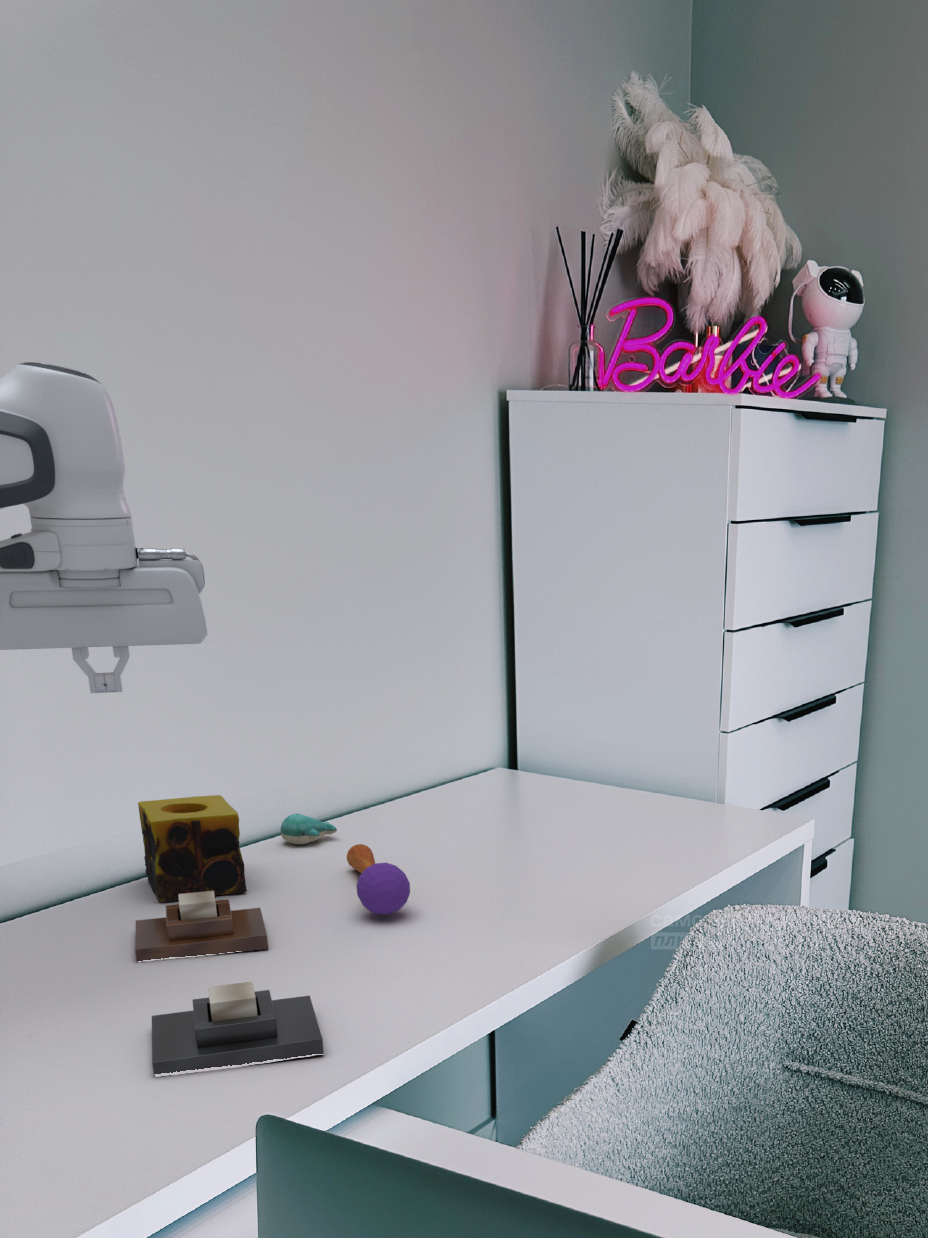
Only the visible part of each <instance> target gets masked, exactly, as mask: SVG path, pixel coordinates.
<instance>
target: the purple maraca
mask: <svg viewBox="0 0 928 1238" xmlns="http://www.w3.org/2000/svg"><path fill="white" fill-rule="evenodd" d="M346 861H347V863H348V866H350V867H351V868H353V869H354V870H356V871H357V872H359V873H360V875H359V877H358V879H357V883H356V895H357V898H358V899H359V901H360V903H361V905H362V906H363V907H364V908H365V909H367V911H369V912H370V913H373V914H376V915H380V916H382V915H392V914H394V913H396V912H398V911H400V910H401V909H402V908H403V907H404V906H405V905H406V904H407V902H408V899H409V897H410V894H411V883H410V881H409V878H408V876H407V874H406V873H405V872H404V871H403V870H402V869H401V868H400V867H399V866H397V865H395V864H392V863H389V862H377V863H376V861H375V855H374V853H373V851H372V849H371V848H370V847H369V846H368V845H366V844H363V843H359V844H354V845H352V846H351V847H350V848H349V849H348V850H347V853H346Z"/></svg>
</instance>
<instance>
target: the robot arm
mask: <svg viewBox="0 0 928 1238" xmlns="http://www.w3.org/2000/svg"><path fill="white" fill-rule="evenodd" d="M124 457H125V456H124V451H123V445H122V438H121V433H120V429H119V423H118V419H117V415H116V411H115V407H114V404H113V402H112V398H111V396H110V394H109V392H108V391H107V389H106V387H104V385H103V384H102V383H101V382H100V381H99V380H97V379H96V378H95V377H94V376H92V375H90V374H88V373H85V372H82V371H79V370H76V369H72V368H68V367H63V366H58V365H54V364H48V363H47V364H45V363H42V362H35V361H25V362H21V363H18V364H16V365H15V366H14V367H13V369H12V370H10V371H9V372H8V373H5V374H4V375H2V376H1V377H0V510H3V509H5V508H9V507H13V506H15V507H16V506H20V505H24V506H26V508H27V509H28V514H29V520H30V525H31V529H30V531H28V532H25V533H22V532H20V533H15V534H13V535H11V536H10V537H8V538H6V539H2V540H0V651H11V650H42V649H43V650H45V649H71V653H72V660H73V661H74V663H75V664H76V665H77V666H78V667H79V668H80V670H81V671H82V672H83V673H84V675H85V676H86V677H88V685H89V690H90V694H104V693H105V694H106V693H123V683H122V674H123V672H124V669H125V667H126V665H127V664H128V661H129V659H130V647H143V646H167V645H168V646H169V645H170V646H175V645H176V646H177V645H199V644H202V643H203V642H204V641H205V639H206V638H207V636H208V629H207V622H206V617H205V613H204V608H203V603H202V600H201V596H200V594H201V593H202V592H203V590H204V588H205V584H206V580H205V570H204V566H203V563H202V562H201V560H200V559H199V558H198V557H197V556H196V555H195V554H193V553H191V552H187V551H186V549H184V548H181V547H173V548H153V547H136V540H135V533H134V525H133V517H132V513H131V509H130V507H129V505H128V502H127V500H126V496H125V490H124V479H125V474H126V467H125V466H126V465H125V458H124ZM187 557H188V558H190V559H187ZM106 647H107V648H109V647H110V648H112V652H113V657H114V658H116V659H117V658H118V661H117V663H116V664H115V667H114V669H113V671H111V672H109V671H108V672H96V671H95V669H94V668H93V667H92V666H91V664H90V663H89V662H88V660H87V659H89V656H90V651H89V648H106Z"/></svg>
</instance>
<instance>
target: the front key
mask: <svg viewBox="0 0 928 1238" xmlns="http://www.w3.org/2000/svg"><path fill="white" fill-rule="evenodd" d="M254 987H255V986H254V982H253V981H246V982H245V981H244V982H235V983H227V984H220V985H212V986H208V987H207V990H208V991H207V992H208V997H209V1001H210V1009H211V1017H212V1022H215V1021H222V1020H230V1019H237V1018H245V1017H253V1016H258V1015H257V1006H256V997H255V992H256V991H255V989H254Z"/></svg>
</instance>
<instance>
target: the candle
mask: <svg viewBox="0 0 928 1238" xmlns="http://www.w3.org/2000/svg"><path fill="white" fill-rule="evenodd" d="M137 805H138V806H137V807H138V814H139V815H138V816H139V821H140V827H141V828H140V829H141V835H142V841H143V847H144V857H143V858H144V866H145V875H146V877H147V881H148V884H149V886H150V888H151V890H152V892H153V893H154V894H155V897H156V900H157V901H158V902H161V903H162V902H163V903H171V902H179V896H178V894H185V893H195V892H206V891H214V895H215V896H223V895H224V896H225V895H238V894H244V893H246V892H248V889H247V881H246V873H245V871H246V870H245V863H244V860H243V855H242V851H241V848H240V835H241V833H240V817H239V813H238V811H236V810H235V809H234V808H233V806H231V805H230V804H229V803H228V802H227V801H226V799H224V796H222V794H221V795H220V794H216V795H215V794H214V795H199V796H198V795H197V796H189V797H176V798H165V799H154V800H143V801H139V802H137Z"/></svg>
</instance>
